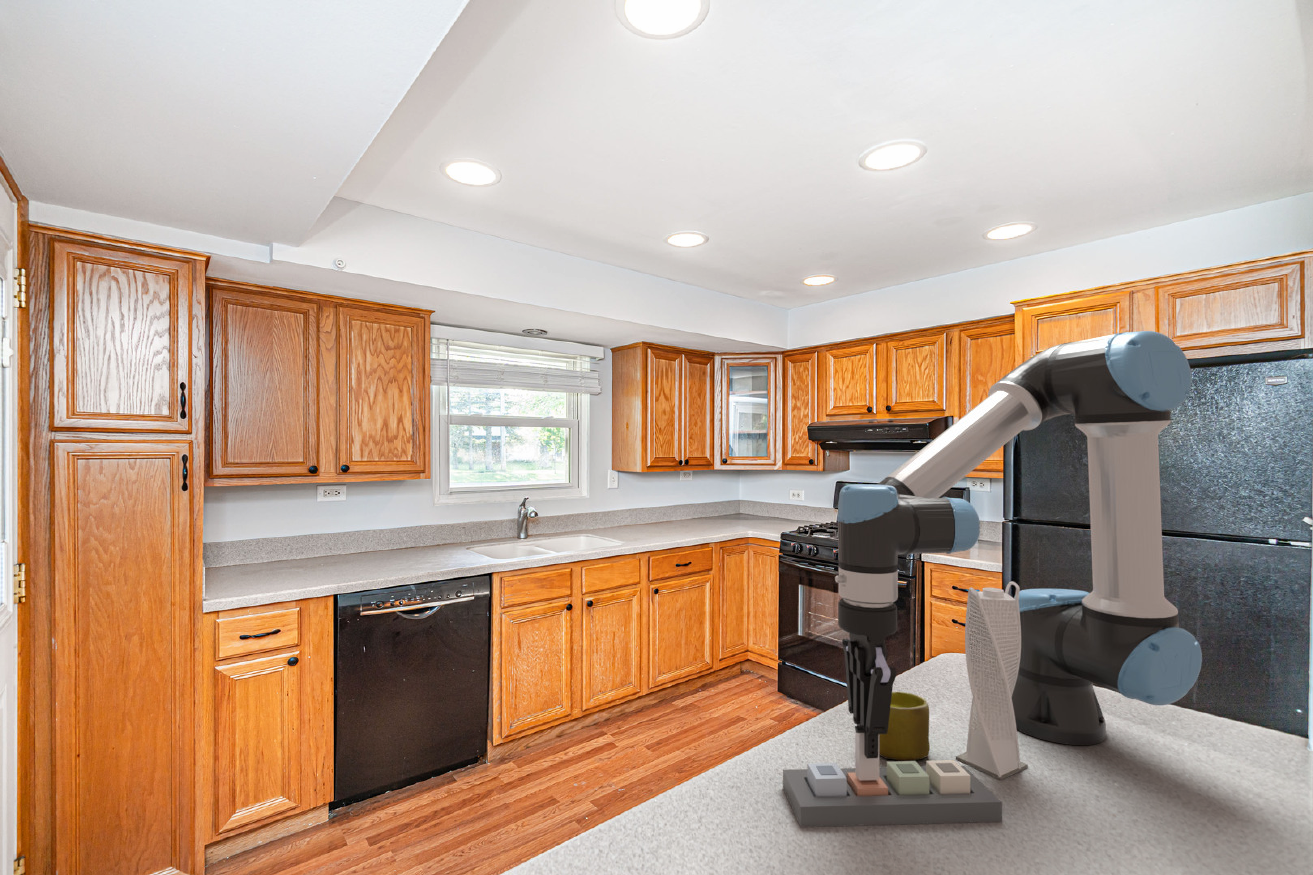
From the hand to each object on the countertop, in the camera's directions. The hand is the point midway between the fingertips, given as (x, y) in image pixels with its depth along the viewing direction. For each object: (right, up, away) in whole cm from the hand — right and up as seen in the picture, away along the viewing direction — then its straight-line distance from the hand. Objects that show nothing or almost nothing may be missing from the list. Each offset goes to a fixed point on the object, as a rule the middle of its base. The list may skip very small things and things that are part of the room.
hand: (867, 777), depth 84 cm
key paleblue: (-5, -2, 0) cm, 6 cm away
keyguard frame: (+3, -4, 0) cm, 5 cm away
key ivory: (+11, -2, +1) cm, 11 cm away
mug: (+10, -4, +16) cm, 20 cm away
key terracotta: (0, -3, 0) cm, 3 cm away
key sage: (+6, -2, 0) cm, 6 cm away
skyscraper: (+22, -4, +10) cm, 25 cm away
